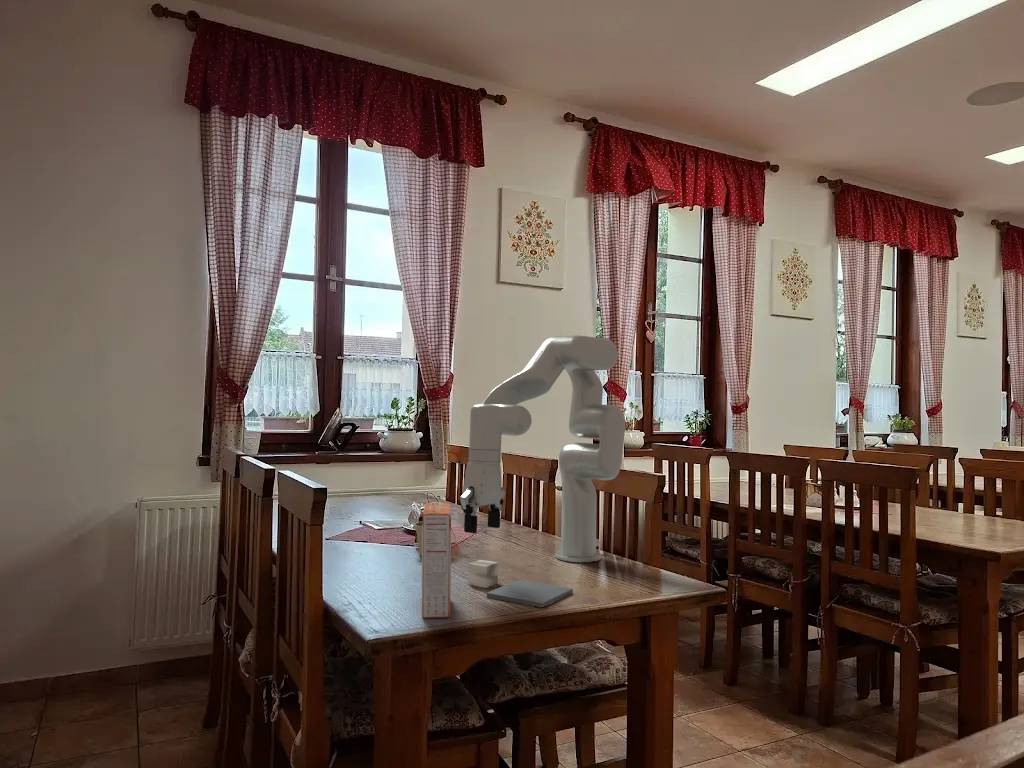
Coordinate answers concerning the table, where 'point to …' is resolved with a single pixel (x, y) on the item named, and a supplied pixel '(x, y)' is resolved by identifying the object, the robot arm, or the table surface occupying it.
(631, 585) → the table surface
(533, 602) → the slate board
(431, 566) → the cracker box
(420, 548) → the flower pot
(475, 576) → the cream cube
